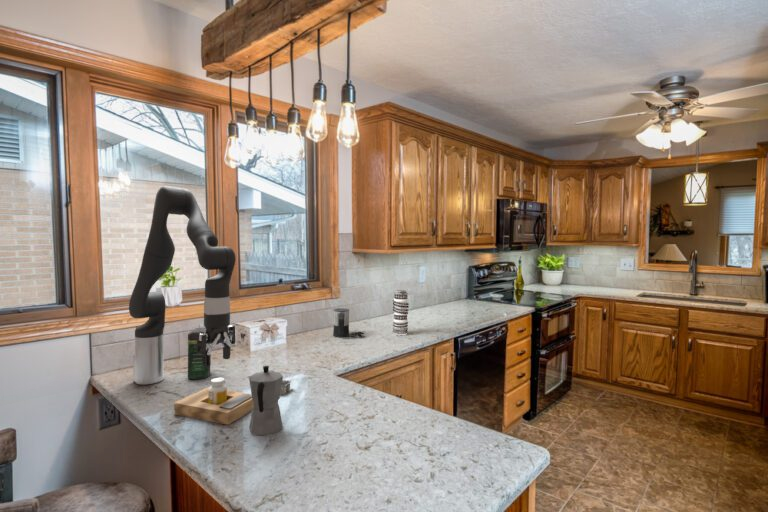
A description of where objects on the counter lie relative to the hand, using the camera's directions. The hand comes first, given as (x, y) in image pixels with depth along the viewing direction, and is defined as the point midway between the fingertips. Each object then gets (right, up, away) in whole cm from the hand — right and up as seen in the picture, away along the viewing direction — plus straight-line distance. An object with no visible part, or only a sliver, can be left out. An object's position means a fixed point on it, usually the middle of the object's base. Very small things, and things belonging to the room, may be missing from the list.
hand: (216, 362), depth 127 cm
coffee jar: (-20, -14, +32) cm, 40 cm away
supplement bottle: (0, -15, +1) cm, 15 cm away
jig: (0, -15, +1) cm, 15 cm away
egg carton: (+13, -15, +18) cm, 27 cm away
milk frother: (+32, -12, +100) cm, 106 cm away
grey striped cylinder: (+61, -12, +106) cm, 123 cm away
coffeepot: (+19, -16, -12) cm, 27 cm away
